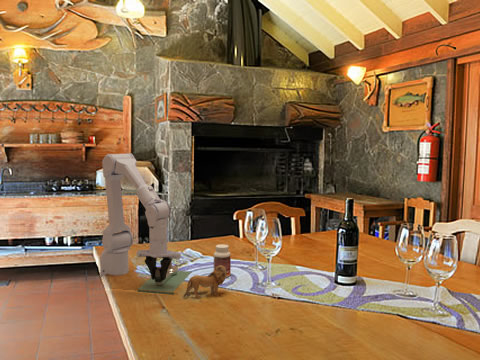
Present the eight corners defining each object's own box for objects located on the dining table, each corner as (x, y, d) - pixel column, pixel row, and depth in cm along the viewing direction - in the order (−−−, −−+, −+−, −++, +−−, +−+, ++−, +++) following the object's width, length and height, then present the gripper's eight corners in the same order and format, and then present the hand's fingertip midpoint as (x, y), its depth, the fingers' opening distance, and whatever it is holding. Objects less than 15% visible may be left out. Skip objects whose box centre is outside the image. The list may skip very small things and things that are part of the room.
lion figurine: (222, 289, 146) (223, 262, 145) (229, 294, 141) (229, 267, 140) (180, 296, 140) (180, 268, 139) (186, 301, 135) (186, 273, 134)
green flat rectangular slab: (137, 292, 142) (137, 288, 142) (161, 272, 163) (161, 269, 163) (173, 294, 140) (173, 291, 140) (192, 274, 161) (192, 271, 161)
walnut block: (161, 272, 160) (161, 261, 159) (164, 269, 163) (163, 259, 162) (169, 272, 159) (168, 262, 159) (171, 270, 162) (171, 259, 162)
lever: (151, 285, 145) (151, 268, 144) (169, 269, 162) (169, 254, 162) (163, 286, 144) (162, 269, 143) (180, 270, 162) (180, 254, 161)
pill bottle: (233, 276, 159) (234, 246, 158) (219, 279, 156) (219, 249, 154) (224, 271, 164) (225, 243, 163) (210, 274, 161) (210, 245, 160)
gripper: (132, 240, 142) (133, 281, 143) (175, 243, 139) (175, 284, 140) (141, 235, 148) (141, 274, 150) (182, 237, 146) (182, 277, 147)
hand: (158, 279), depth 146 cm, fingers closed on lever, 3 cm apart
